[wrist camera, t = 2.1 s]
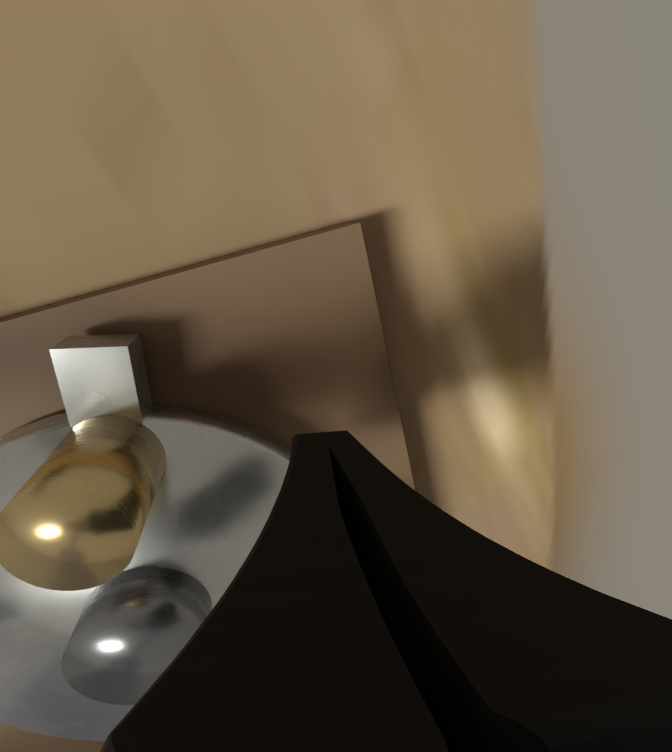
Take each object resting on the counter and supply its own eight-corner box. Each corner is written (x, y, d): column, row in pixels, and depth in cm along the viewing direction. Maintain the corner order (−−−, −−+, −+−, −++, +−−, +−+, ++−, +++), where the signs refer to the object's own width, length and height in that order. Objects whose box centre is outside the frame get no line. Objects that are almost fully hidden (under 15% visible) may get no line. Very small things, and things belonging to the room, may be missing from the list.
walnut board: (436, 621, 19) (466, 691, 16) (50, 755, 18) (12, 856, 15) (350, 220, 11) (379, 225, 8) (-333, 410, 10) (-554, 486, 7)
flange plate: (347, 674, 17) (371, 796, 13) (-6, 738, 14) (-89, 905, 11) (363, 326, 11) (413, 381, 7) (-221, 345, 9) (-536, 436, 5)
